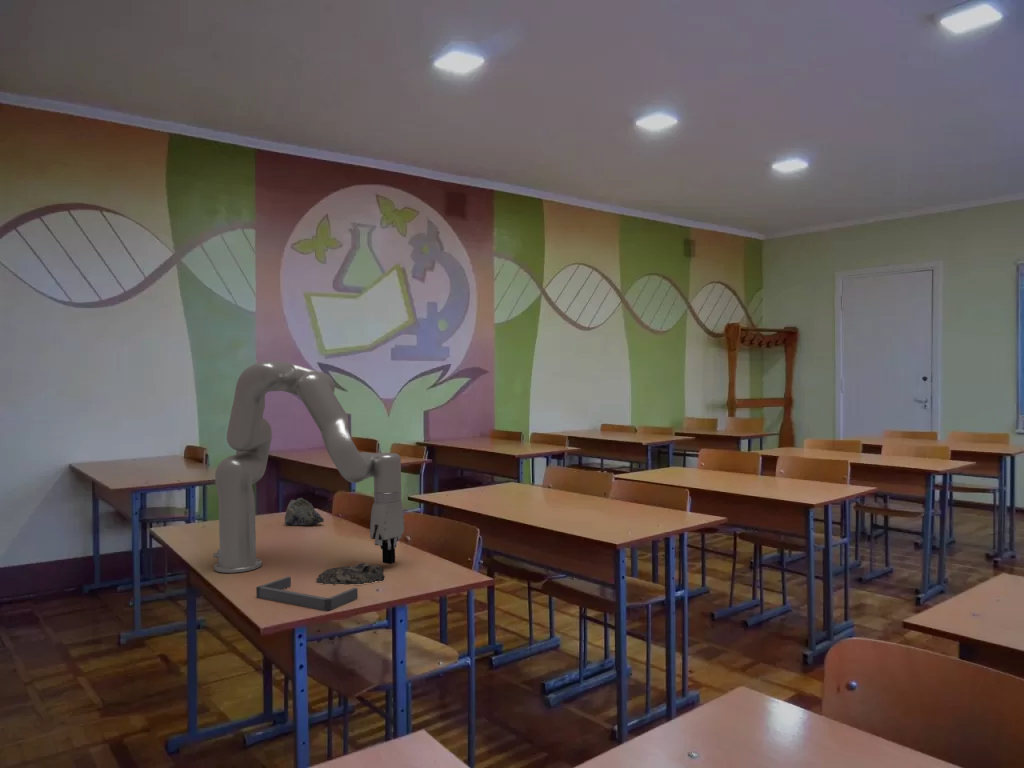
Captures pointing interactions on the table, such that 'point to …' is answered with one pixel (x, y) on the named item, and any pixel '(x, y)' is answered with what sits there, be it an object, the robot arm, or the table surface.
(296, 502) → the mineral rock
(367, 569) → the grey rough rock slab
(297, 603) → the frame
